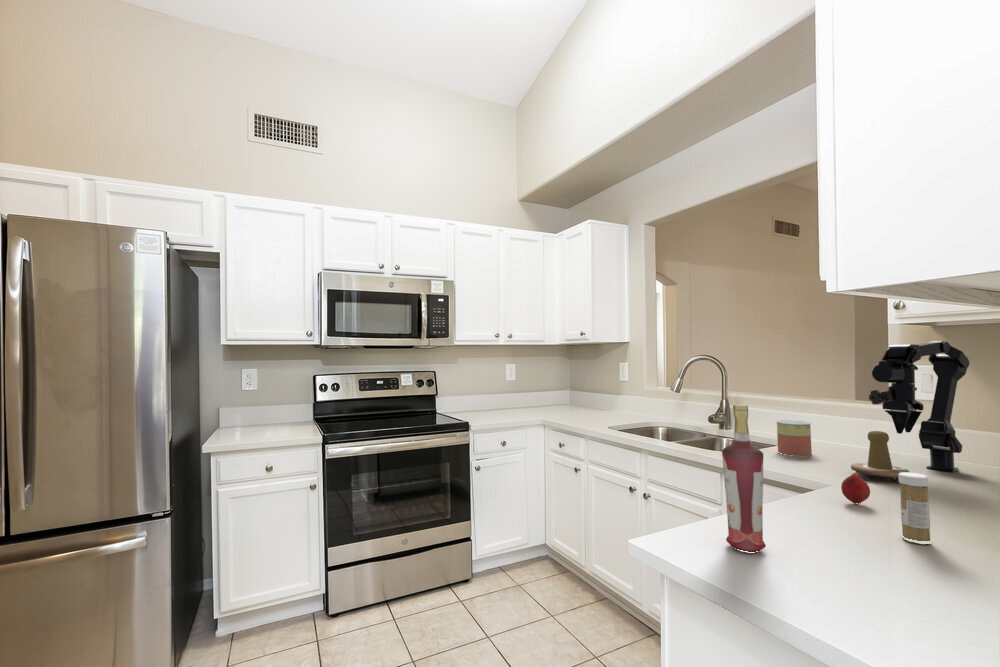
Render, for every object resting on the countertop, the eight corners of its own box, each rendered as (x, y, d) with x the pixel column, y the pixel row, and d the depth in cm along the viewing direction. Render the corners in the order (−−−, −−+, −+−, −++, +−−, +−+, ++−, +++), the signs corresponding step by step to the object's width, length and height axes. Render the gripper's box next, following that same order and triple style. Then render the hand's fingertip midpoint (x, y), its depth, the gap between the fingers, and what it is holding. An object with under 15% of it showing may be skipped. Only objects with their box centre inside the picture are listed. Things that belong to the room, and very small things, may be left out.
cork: (897, 470, 140) (894, 433, 141) (873, 469, 142) (871, 432, 142) (885, 465, 146) (883, 430, 147) (863, 464, 147) (861, 429, 148)
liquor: (770, 559, 87) (764, 407, 88) (726, 553, 89) (721, 406, 91) (764, 544, 94) (758, 404, 95) (723, 539, 96) (719, 403, 98)
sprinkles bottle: (902, 535, 98) (898, 470, 98) (932, 541, 95) (928, 473, 95) (901, 542, 94) (897, 474, 95) (932, 548, 91) (927, 478, 92)
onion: (858, 509, 115) (857, 476, 115) (836, 502, 120) (834, 470, 121) (876, 506, 116) (874, 474, 117) (853, 500, 122) (851, 469, 122)
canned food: (817, 456, 175) (816, 424, 175) (785, 456, 176) (783, 424, 177) (803, 451, 186) (802, 420, 186) (772, 450, 188) (771, 420, 188)
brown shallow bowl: (862, 470, 153) (861, 458, 154) (917, 479, 141) (917, 466, 142) (843, 476, 146) (842, 464, 146) (900, 486, 134) (899, 473, 134)
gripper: (880, 382, 161) (881, 428, 160) (862, 381, 150) (862, 430, 149) (923, 384, 152) (924, 433, 151) (907, 383, 141) (908, 435, 140)
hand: (903, 432), depth 148 cm, fingers open, 9 cm apart
